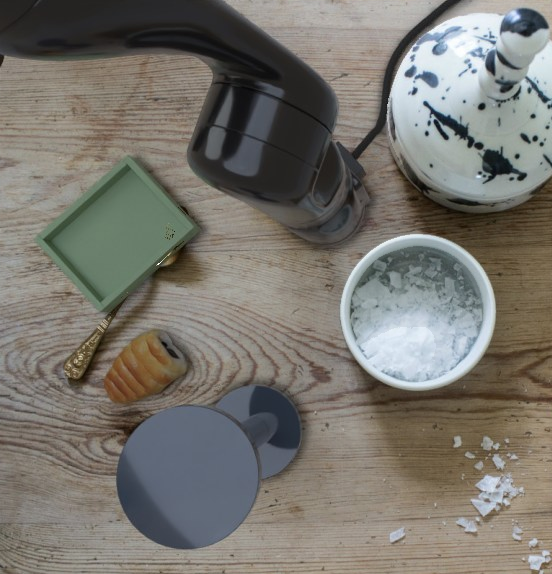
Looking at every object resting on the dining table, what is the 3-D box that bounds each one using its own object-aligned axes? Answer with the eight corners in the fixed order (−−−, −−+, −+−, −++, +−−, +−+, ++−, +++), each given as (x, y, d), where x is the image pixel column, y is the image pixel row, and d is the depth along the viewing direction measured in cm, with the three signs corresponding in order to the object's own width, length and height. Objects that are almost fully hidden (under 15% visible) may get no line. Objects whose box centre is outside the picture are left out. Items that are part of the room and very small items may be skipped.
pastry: (132, 416, 72) (115, 422, 69) (97, 372, 73) (79, 374, 69) (195, 366, 73) (182, 369, 69) (160, 322, 73) (146, 322, 69)
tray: (136, 159, 74) (127, 154, 72) (201, 229, 74) (194, 226, 71) (45, 241, 73) (32, 239, 71) (109, 312, 73) (99, 312, 71)
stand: (259, 359, 73) (192, 375, 52) (327, 433, 73) (288, 480, 52) (184, 428, 72) (85, 473, 51) (252, 503, 72) (181, 580, 51)
